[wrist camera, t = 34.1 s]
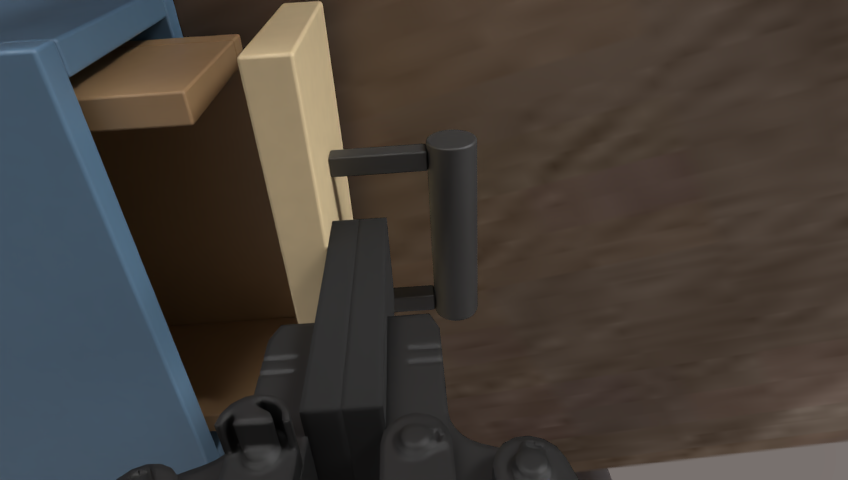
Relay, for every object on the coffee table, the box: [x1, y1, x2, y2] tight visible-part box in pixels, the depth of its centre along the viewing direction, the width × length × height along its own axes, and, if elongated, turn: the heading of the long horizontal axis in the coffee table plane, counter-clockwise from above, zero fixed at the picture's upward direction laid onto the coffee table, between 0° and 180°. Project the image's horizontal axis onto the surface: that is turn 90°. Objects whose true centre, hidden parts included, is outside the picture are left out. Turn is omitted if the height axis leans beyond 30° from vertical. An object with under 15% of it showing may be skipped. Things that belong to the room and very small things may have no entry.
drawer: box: [69, 1, 478, 431], centre depth 17 cm, size 18×12×6 cm
